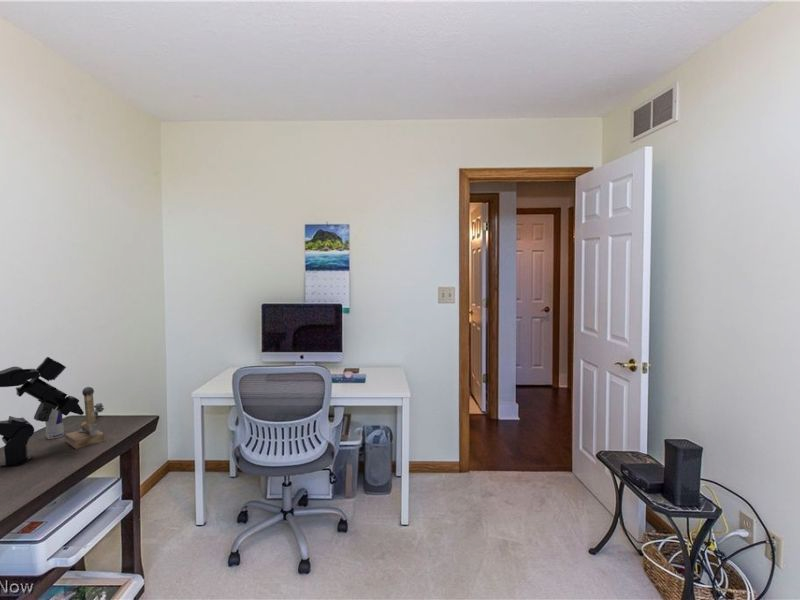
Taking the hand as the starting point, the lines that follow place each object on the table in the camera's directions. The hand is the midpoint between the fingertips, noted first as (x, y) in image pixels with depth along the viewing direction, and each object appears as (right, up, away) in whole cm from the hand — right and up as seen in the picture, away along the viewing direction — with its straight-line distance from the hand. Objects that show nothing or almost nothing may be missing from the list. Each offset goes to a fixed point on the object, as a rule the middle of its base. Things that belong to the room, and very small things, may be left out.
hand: (82, 413), depth 170 cm
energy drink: (-17, -11, +9) cm, 22 cm away
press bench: (-1, -11, +3) cm, 12 cm away
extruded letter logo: (-14, -10, +28) cm, 33 cm away
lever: (+2, -7, +2) cm, 7 cm away
